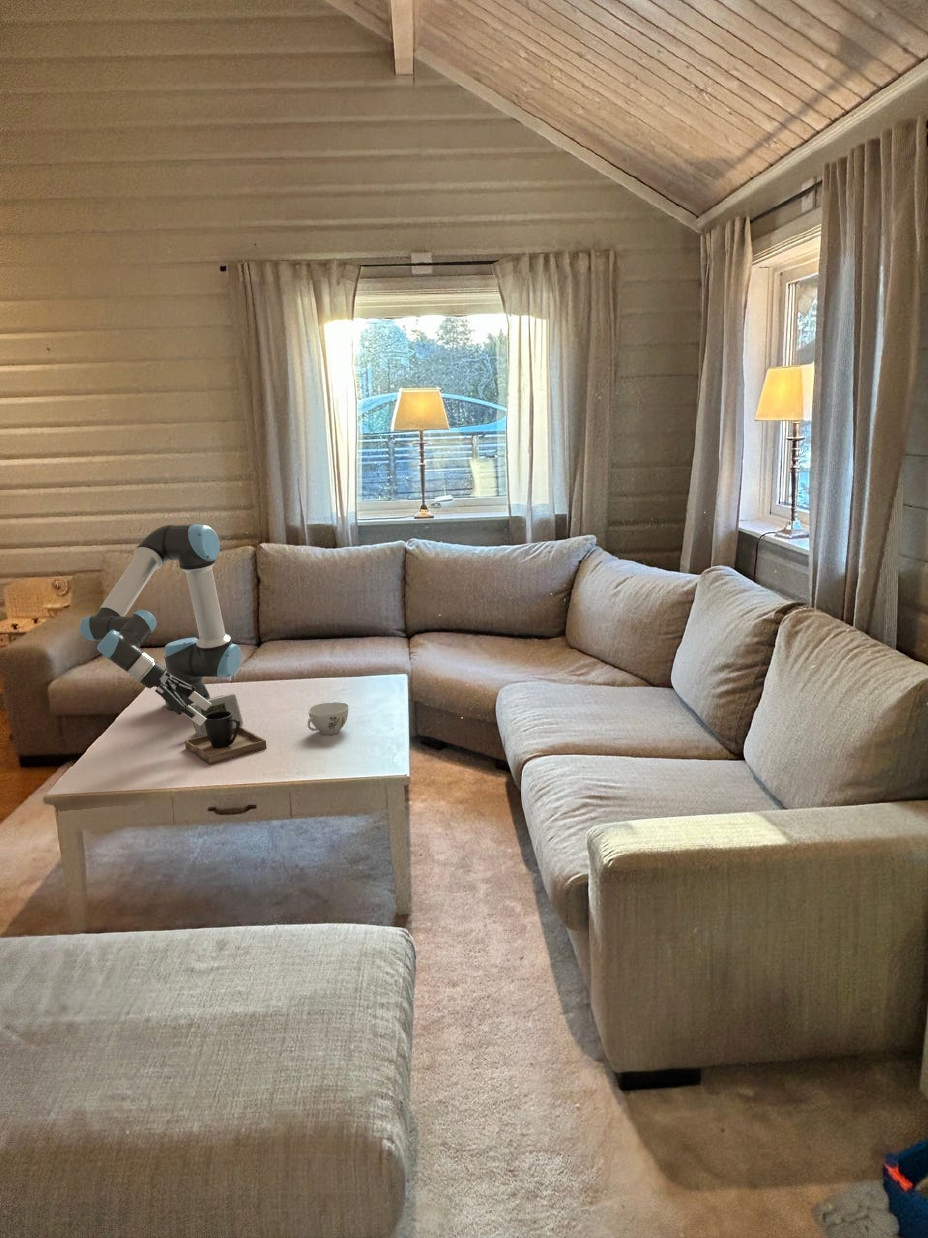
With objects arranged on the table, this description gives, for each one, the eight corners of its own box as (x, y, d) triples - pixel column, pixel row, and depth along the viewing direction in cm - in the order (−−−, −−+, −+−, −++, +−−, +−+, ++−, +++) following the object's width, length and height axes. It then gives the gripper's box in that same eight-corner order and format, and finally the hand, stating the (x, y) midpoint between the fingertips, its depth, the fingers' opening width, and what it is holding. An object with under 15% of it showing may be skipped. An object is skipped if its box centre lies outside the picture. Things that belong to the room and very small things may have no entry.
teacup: (332, 722, 288) (330, 698, 286) (358, 729, 280) (356, 705, 278) (295, 736, 277) (293, 711, 275) (322, 744, 269) (320, 719, 267)
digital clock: (196, 739, 278) (192, 707, 276) (189, 731, 286) (185, 700, 283) (247, 729, 286) (243, 697, 284) (239, 721, 294) (235, 690, 291)
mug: (231, 753, 263) (227, 722, 261) (201, 747, 269) (198, 717, 267) (250, 743, 270) (247, 714, 268) (221, 738, 276) (217, 709, 274)
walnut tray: (185, 748, 271) (184, 741, 270) (240, 733, 282) (239, 726, 281) (210, 764, 257) (209, 756, 257) (266, 748, 268) (265, 740, 268)
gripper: (146, 668, 272) (202, 710, 278) (131, 693, 248) (192, 738, 254) (162, 650, 272) (218, 692, 277) (148, 673, 248) (209, 719, 253)
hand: (206, 714), depth 266 cm, fingers open, 13 cm apart
